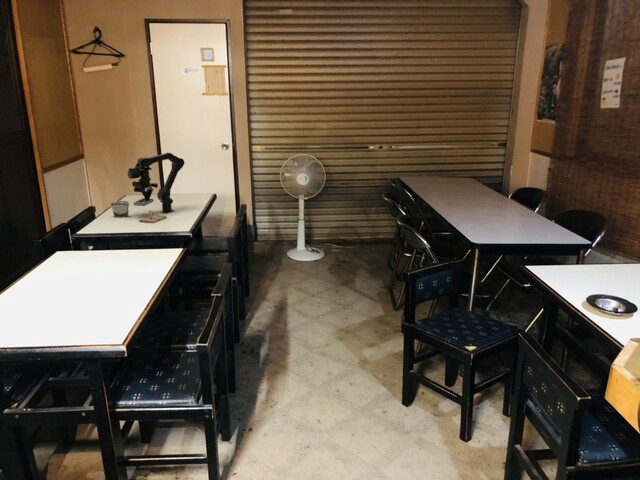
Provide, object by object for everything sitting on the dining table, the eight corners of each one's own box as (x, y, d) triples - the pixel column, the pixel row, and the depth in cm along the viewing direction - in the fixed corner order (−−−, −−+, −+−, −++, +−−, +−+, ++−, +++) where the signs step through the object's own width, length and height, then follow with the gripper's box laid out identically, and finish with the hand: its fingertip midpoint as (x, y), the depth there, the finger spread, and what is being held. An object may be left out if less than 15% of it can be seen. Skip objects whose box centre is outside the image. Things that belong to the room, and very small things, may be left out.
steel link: (143, 200, 336) (142, 198, 335) (153, 201, 334) (153, 198, 333) (134, 205, 327) (133, 202, 326) (144, 206, 325) (143, 203, 324)
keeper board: (152, 216, 331) (151, 206, 329) (166, 217, 328) (165, 207, 326) (139, 222, 318) (137, 211, 316) (153, 223, 315) (152, 212, 313)
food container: (134, 215, 336) (132, 200, 333) (129, 217, 330) (128, 202, 327) (116, 215, 337) (114, 200, 334) (112, 217, 331) (110, 202, 328)
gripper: (143, 174, 340) (145, 196, 344) (125, 178, 323) (128, 202, 327) (157, 175, 337) (159, 197, 341) (140, 179, 320) (142, 203, 324)
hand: (147, 200), depth 334 cm, fingers closed on steel link, 2 cm apart
